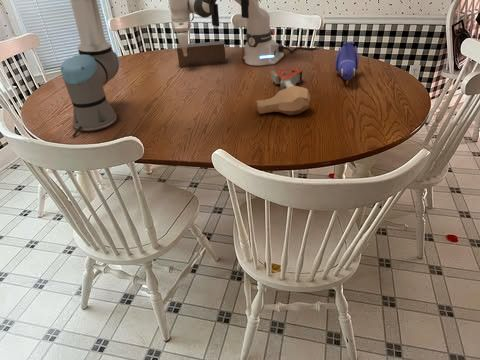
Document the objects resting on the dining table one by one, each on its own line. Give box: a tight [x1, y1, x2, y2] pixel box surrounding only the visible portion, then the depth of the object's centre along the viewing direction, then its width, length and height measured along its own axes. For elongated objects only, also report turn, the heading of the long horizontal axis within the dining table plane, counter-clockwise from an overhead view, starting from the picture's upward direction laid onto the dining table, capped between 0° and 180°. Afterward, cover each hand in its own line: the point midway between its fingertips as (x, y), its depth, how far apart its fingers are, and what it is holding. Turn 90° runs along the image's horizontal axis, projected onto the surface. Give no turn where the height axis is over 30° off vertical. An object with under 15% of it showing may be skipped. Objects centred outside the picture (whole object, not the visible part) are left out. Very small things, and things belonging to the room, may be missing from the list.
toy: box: [334, 40, 360, 86], centre depth 151 cm, size 10×17×25 cm
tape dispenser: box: [270, 67, 303, 90], centre depth 150 cm, size 18×5×20 cm
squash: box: [255, 85, 312, 116], centre depth 130 cm, size 11×20×9 cm, turn 92°
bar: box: [176, 40, 227, 68], centre depth 180 cm, size 24×6×10 cm, turn 97°
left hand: (230, 21), depth 120 cm, fingers open, 13 cm apart
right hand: (185, 53), depth 179 cm, fingers open, 8 cm apart
